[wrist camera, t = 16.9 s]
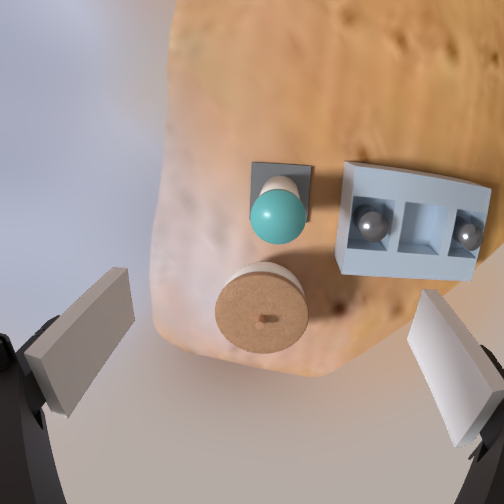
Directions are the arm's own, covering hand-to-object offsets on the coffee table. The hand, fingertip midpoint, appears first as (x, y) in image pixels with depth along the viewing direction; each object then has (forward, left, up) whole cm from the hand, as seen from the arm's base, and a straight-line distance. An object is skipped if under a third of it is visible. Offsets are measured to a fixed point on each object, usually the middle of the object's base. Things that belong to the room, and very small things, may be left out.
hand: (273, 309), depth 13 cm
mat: (0, 0, -27) cm, 27 cm away
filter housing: (-17, +1, -27) cm, 31 cm away
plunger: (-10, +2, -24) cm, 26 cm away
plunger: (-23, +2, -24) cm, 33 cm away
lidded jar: (+1, +13, -27) cm, 30 cm away
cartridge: (0, 0, -26) cm, 26 cm away
